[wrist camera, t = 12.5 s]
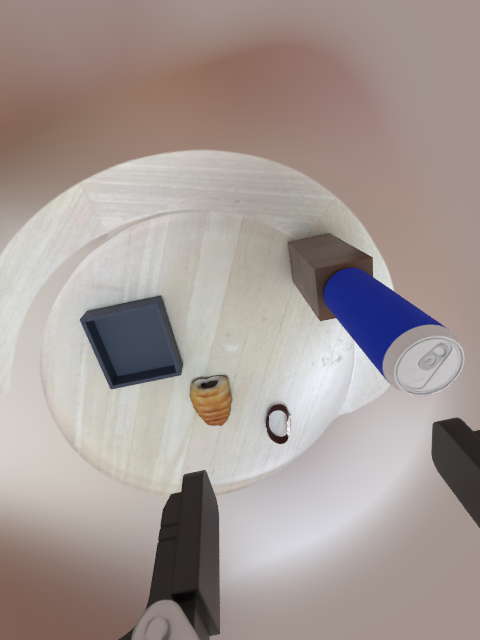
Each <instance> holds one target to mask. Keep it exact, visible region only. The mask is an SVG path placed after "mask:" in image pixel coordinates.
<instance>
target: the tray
mask: <svg viewBox="0 0 480 640" xmlns="http://www.w3.org/2000/svg"><path fill="white" fill-rule="evenodd" d="M80 321H81V323H82V326H83V328H84V330H85V333H86V335H87V337H88V339H89V342H90V344H91V346H92V348H93V351H94V353H95V355H96V357H97V360H98V362H99V364H100V366H101V369H102V371H103V373H104V375H105V378H106V380H107V382H108V384H109V386H110V389H115V388H120V387H125V386H130V385H135V384H140V383H145V382H150V381H155V380H160V379H164V378H169V377H174V376H179V375H181V373H182V367H183V363H182V360H181V357H180V354H179V351H178V347H177V344H176V341H175V338H174V335H173V332H172V329H171V325H170V322H169V319H168V316H167V313H166V310H165V307H164V303H163V300H162V297H161V296H157V297H153V298H148V299H143V300H138V301H134V302H129V303H124V304H119V305H114V306H110V307H105V308H100V309H95V310H90V311H87V312H86V313H85V314H84V315H83V316H82V317H81V319H80Z"/></svg>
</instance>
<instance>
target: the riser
mask: <svg viewBox="0 0 480 640" xmlns="http://www.w3.org/2000/svg"><path fill="white" fill-rule="evenodd" d="M288 247H289V255H290V262H291V270H292V277H293V282H294V284H295V285H296V287H297V288H298V290H299V291H300V293H301V294H302V295H303V297H304V298H305V300H306V301H307V303H308V304H309V306H310V307H311V309H312V310H313V311H314V313H315V314H316V316H317V317H318V319H319V320H320V321H323V320H328V319H333V318H336V317H335V316H334V314H333V313H332V312H331V311H330V309H329V308H328V307H327V305H326V304H325V301H324V289H325V286H326V284H327V282H328V281H329V279H330V278H331V277H332V276H333V275H334V274H335V273H337V272H338V271H340V270H343V269H346V268H358V269H361V270H363V271H365V272H366V273H368V274H369V275H370V276H372V277H373V259H372V257H371V256H369V255H367V254H365V253H364V252H362V251H360V250H358V249H357V248H355V247H353V246H351V245H349V244H348V243H346V242H344V241H342V240H341V239H339V238H337V237H335V236H333V235H332V234H330V233H329V234H324V235H319V236H314V237H310V238H305V239H300V240H295V241H291V242H288Z"/></svg>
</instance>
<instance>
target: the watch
mask: <svg viewBox="0 0 480 640" xmlns="http://www.w3.org/2000/svg"><path fill="white" fill-rule="evenodd" d="M276 410H281V411H283V412H285V413H286V415H287V434H286V435H285V436H283V437H279V436H276V435H275V434H273V433H272V432H271V430H270V428H269V415H270V414H271V413H272V412H273V411H276ZM266 428H267V432H268V435H269V437H270V438H271V439H272V440H273V441H274V442H276V443H278V444H283V443H285V442H286V441H287V440H288V436H289V435H290V432H291V416H289V413H288V410H287V408H286V407H285V406H283V405H281V404H277V405H274V406H272V407H271V408H270V410H269V412H268V416H267V419H266Z"/></svg>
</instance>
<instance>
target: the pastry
mask: <svg viewBox="0 0 480 640" xmlns="http://www.w3.org/2000/svg"><path fill="white" fill-rule="evenodd" d="M228 383H229V381H228V379H227V378H225V377H224V376H214V377H210V378H208V379H199V380H196V381H195V382H193V383H192V385H191V388H190V389H191V391H190V397H191V401H192V403H193V407H194V408H195V410H196V412H197V413H198V414H199V416H200V417H201V418H202V419H203V420H204V422H206V423H207V424H208V425H219V426H222V425H223V424H224V423H225V422H226V421H227V420H228V417H229V415H230V411H231V403H232V397H231V395H230V389H229V384H228Z"/></svg>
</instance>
